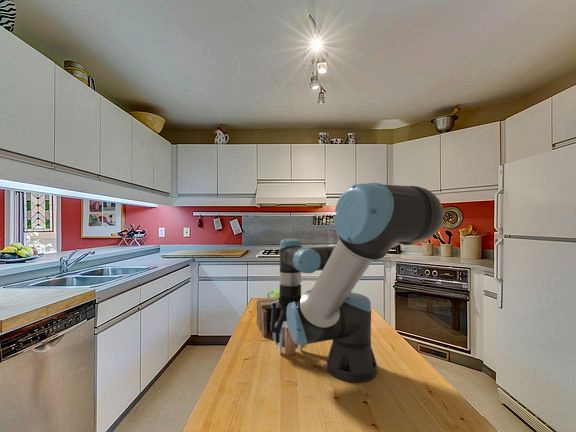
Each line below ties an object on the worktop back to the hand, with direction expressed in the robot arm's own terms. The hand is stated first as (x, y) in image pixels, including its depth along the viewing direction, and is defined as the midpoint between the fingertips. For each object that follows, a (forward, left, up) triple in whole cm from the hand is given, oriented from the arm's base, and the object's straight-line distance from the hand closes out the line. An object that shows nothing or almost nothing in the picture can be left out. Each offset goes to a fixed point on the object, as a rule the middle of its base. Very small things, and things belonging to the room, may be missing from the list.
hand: (290, 350), depth 100 cm
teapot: (+44, -10, -1) cm, 45 cm away
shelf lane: (+22, 0, -1) cm, 22 cm away
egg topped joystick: (+6, 0, -1) cm, 6 cm away
